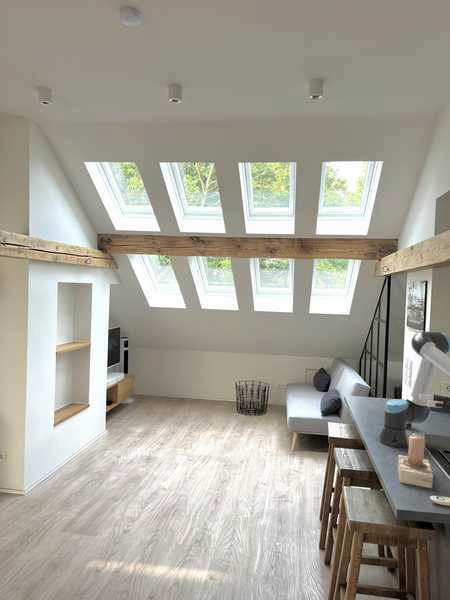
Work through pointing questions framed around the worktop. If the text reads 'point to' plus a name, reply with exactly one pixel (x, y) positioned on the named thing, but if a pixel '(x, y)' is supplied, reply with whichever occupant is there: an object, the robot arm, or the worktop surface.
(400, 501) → the worktop surface
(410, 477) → the plinth
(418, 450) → the slanted peach cylinder
